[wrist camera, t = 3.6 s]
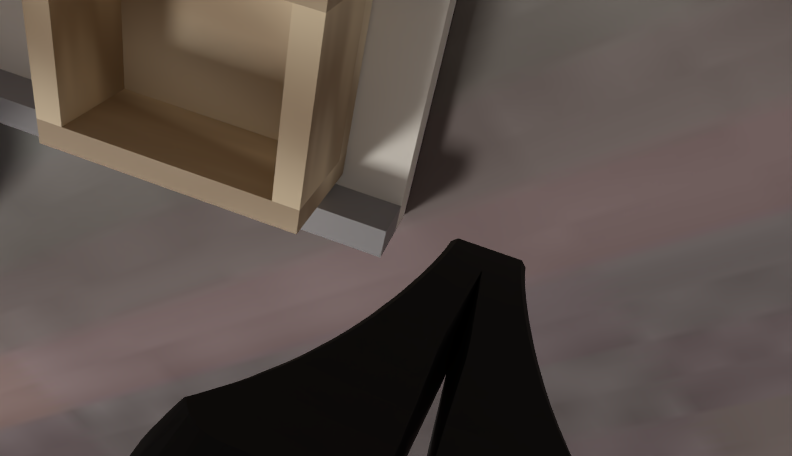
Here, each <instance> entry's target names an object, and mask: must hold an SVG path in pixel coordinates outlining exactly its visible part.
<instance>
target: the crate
mask: <svg viewBox="0 0 792 456" xmlns="http://www.w3.org/2000/svg"><path fill="white" fill-rule="evenodd" d="M372 1H373V0H22V8H23V16H24V24H25V32H26V40H27V47H28V55H29V63H30V71H31V79H32V87H33V95H34V102H35V110H36V118H37V126H38V134H39V142H40V143H41V144H44V145H47V146H50V147H52V148H55V149H58V150H61V151H64V152H66V153H69V154H72V155H75V156H78V157H81V158H83V159H86V160H89V161H92V162H95V163H97V164H100V165H103V166H106V167H109V168H111V169H114V170H117V171H120V172H123V173H125V174H128V175H131V176H134V177H137V178H140V179H142V180H145V181H148V182H151V183H154V184H156V185H159V186H162V187H165V188H168V189H170V190H173V191H176V192H179V193H182V194H185V195H187V196H190V197H193V198H196V199H199V200H201V201H204V202H207V203H210V204H213V205H215V206H218V207H221V208H224V209H227V210H229V211H232V212H235V213H238V214H241V215H244V216H246V217H249V218H252V219H255V220H258V221H260V222H263V223H266V224H269V225H272V226H274V227H277V228H280V229H283V230H286V231H289V232H291V233H294V234H297V233H298V232H299V230H300V229H301V228H302V226H303V225H304V224H305V222H306V221H307V220H308V219H309V217H310V216H311V215H312V213H313V212H314V211H315V209H316V208H317V207H318V206H319V204H320V203H321V202H322V200H323V199H324V198H325V196H326V195H327V194H328V193H329V191H330V190H331V189H332V187H333V186H334V185H335V183H336V182H337V181H338V180H339V178H340V177H341V176H342V174H343V170H344V164H345V158H346V152H347V146H348V141H349V135H350V129H351V123H352V117H353V111H354V106H355V100H356V94H357V88H358V82H359V77H360V71H361V65H362V59H363V53H364V48H365V42H366V36H367V30H368V24H369V19H370V13H371V7H372Z"/></svg>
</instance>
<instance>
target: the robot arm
mask: <svg viewBox="0 0 792 456" xmlns="http://www.w3.org/2000/svg"><path fill="white" fill-rule="evenodd" d="M445 375H446V378H445V382H444V386H443V390H442V394H441V399H440V403H439V407H438V411H437V415H436V420H435V424H434V428H433V432H432V437H431V441H430V445H429V449H428V454H427V456H571V454H570V452H569V450H568V448H567V445H566V443H565V440H564V438H563V436H562V433H561V431H560V429H559V426H558V424H557V421H556V418H555V416H554V413H553V410H552V408H551V405H550V402H549V399H548V396H547V393H546V389H545V386H544V383H543V379H542V376H541V372H540V369H539V365H538V361H537V357H536V353H535V349H534V344H533V339H532V334H531V329H530V324H529V318H528V311H527V302H526V293H525V266H524V264H523V262H522V260H519V259H516V258H513V257H510V256H507V255H505V254H502V253H499V252H496V251H493V250H490V249H487V248H484V247H482V246H479V245H476V244H473V243H470V242H467V241H464V240H461V239H456V240H453V241H451V242H450V243H449V245H448V246H447V248H446V249H445V250H444V251H443V252H442V254H441V255H440V256H439V257H438V258H437V259H436V260H435V261H434V262H433V263H432V264H431V265H430V266H429V267H428V268H427V269H426V270H425V271H424V272H423V273H422V274H421V275H420V276H419V277H418V278H416V279H415V280H414V281H413V282H412V283H411V284H410V285H408V286H407V287H406V288H405V289H404V290H403V291H402V292H400V293H399V294H398V295H397V296H395V297H394V298H393V299H391V300H390V301H389V302H387V303H386V304H385V305H383V306H382V307H381V308H379V309H378V310H377V311H375V312H374V313H373V314H371V315H370V316H369V317H367V318H366V319H364V320H363V321H361V322H360V323H358V324H357V325H355V326H353V327H352V328H350V329H349V330H347V331H345V332H344V333H342V334H340V335H339V336H337V337H335V338H334V339H332V340H330V341H328V342H326V343H324V344H323V345H321V346H319V347H317V348H315V349H313V350H311V351H309V352H307V353H305V354H303V355H301V356H299V357H297V358H295V359H293V360H291V361H288V362H286V363H284V364H281V365H279V366H276V367H274V368H271V369H269V370H266V371H264V372H261V373H259V374H256V375H254V376H251V377H249V378H246V379H243V380H241V381H238V382H235V383H232V384H228V385H225V386H222V387H218V388H215V389H212V390H209V391H205V392H202V393H199V394H195V395H191V396H187V397H184V398H183V399H182V400H181V401H180V402H178V403H177V404H176V405H175V406H174V407H173V408H172V409H171V410H170V411H169V412H168V413H167V414H166V415H165V416H164V417H163V418H162V419H161V420H160V421H159V422H158V423H157V424H156V425H155V426H154V427H153V428H152V429H151V430H150V431H149V432H148V433H147V434H146V435H145V436H144V437H143V439H142V440H141V441H140V442H139V444H138V445H137V446H136V448H135V449H134V451H133V452H132V453H131V455H130V456H407V455H408V453H409V451H410V449H411V447H412V444H413V442H414V440H415V438H416V436H417V434H418V432H419V430H420V428H421V426H422V424H423V421H424V419H425V417H426V415H427V413H428V411H429V409H430V407H431V405H432V403H433V401H434V398H435V396H436V394H437V392H438V390H439V388H440V386H441V384H442V382H443V380H444V377H445Z"/></svg>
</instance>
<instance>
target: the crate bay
mask: <svg viewBox="0 0 792 456" xmlns="http://www.w3.org/2000/svg"><path fill="white" fill-rule="evenodd" d="M455 5H456V0H373V1H372V7H371V13H370V19H369V24H368V30H367V36H366V42H365V48H364V53H363V59H362V65H361V71H360V77H359V82H358V88H357V94H356V100H355V106H354V111H353V117H352V123H351V129H350V135H349V141H348V146H347V152H346V158H345V164H344V170H343V174H342V176H341V177H340V178H339V180H338V181H337V182H336V183H335V185H334V186H333V187H332V189H331V190H330V191H329V193H328V194H327V195H326V196H325V198H324V199H323V200H322V202H321V203H320V204H319V206H318V207H317V208H316V209H315V211H314V212H313V213H312V215H311V216H310V217H309V219H308V220H307V221H306V222H305V224H304V225H303V226H302V228H301V230H304V231H307V232H309V233H312V234H315V235H318V236H321V237H324V238H326V239H329V240H332V241H335V242H338V243H341V244H343V245H346V246H349V247H352V248H355V249H357V250H360V251H363V252H366V253H369V254H372V255H374V256H377V257H381V255H382V254H383V252H384V250H385V248H386V246H387V245H388V243H389V241H390V239H391V238H392V236H393V234H394V232H395V231H396V229H397V227H398V225H399V223H400V222H401V220H402V218H403V216H404V214H405V210H406V205H407V201H408V197H409V193H410V189H411V185H412V181H413V177H414V173H415V169H416V164H417V160H418V156H419V152H420V148H421V144H422V140H423V136H424V132H425V128H426V123H427V119H428V115H429V111H430V107H431V103H432V99H433V95H434V91H435V87H436V82H437V78H438V74H439V70H440V66H441V62H442V58H443V54H444V50H445V46H446V41H447V37H448V33H449V29H450V25H451V21H452V17H453V13H454V9H455ZM0 123H2V124H5V125H8V126H10V127H13V128H16V129H19V130H22V131H24V132H27V133H30V134H33V135H36V136H39V134H38V126H37V118H36V110H35V102H34V95H33V87H32V79H31V71H30V63H29V55H28V47H27V40H26V32H25V24H24V16H23V8H22V0H0Z"/></svg>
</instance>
